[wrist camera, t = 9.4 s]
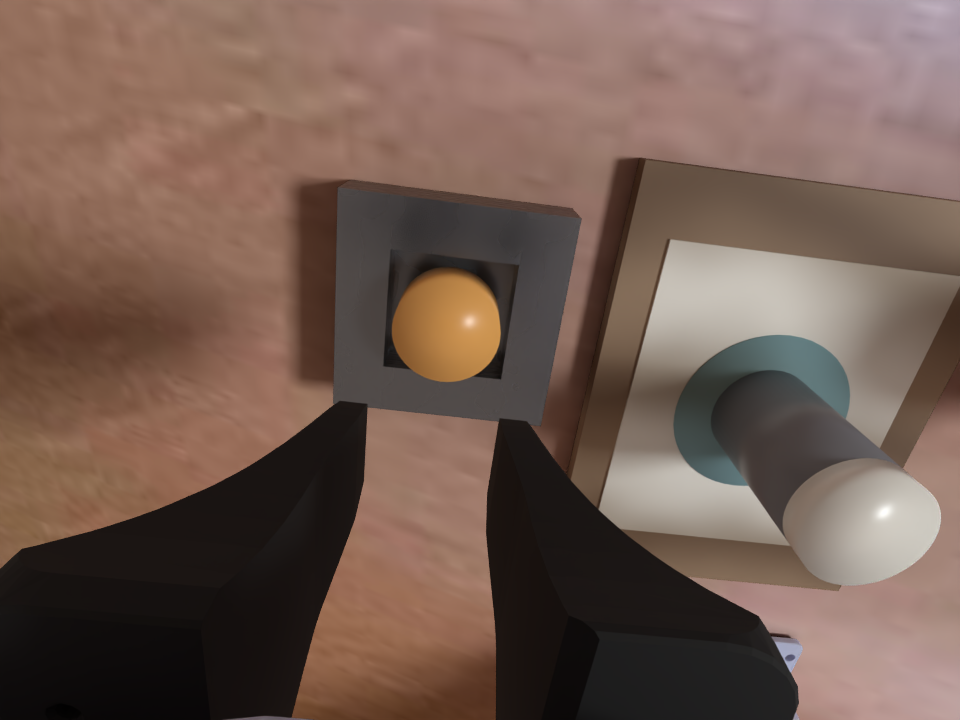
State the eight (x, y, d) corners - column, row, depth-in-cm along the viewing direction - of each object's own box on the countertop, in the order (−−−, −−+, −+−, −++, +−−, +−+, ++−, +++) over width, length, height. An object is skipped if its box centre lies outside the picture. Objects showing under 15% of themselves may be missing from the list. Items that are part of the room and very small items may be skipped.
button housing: (535, 401, 24) (540, 426, 22) (344, 380, 23) (333, 403, 22) (572, 208, 20) (581, 218, 19) (350, 179, 20) (337, 187, 18)
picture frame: (829, 578, 28) (840, 593, 27) (549, 551, 27) (551, 566, 26) (1016, 208, 20) (1040, 213, 20) (639, 157, 20) (647, 160, 19)
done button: (491, 366, 21) (492, 387, 20) (395, 355, 21) (388, 375, 19) (505, 273, 20) (508, 287, 18) (402, 260, 19) (395, 274, 18)
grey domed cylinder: (789, 461, 24) (902, 591, 18) (698, 449, 24) (778, 578, 17) (827, 377, 22) (966, 487, 16) (729, 363, 22) (831, 470, 16)
